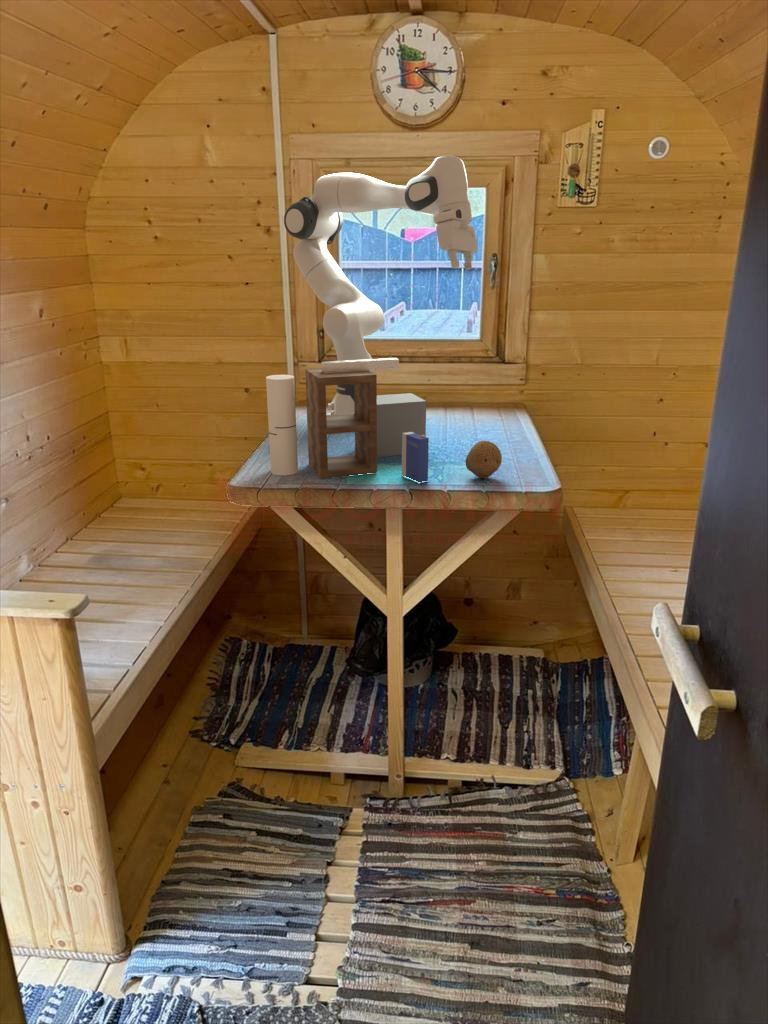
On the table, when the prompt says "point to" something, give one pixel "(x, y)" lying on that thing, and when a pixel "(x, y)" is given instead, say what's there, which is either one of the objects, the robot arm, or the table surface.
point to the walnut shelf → (342, 423)
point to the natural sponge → (484, 459)
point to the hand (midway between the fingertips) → (462, 268)
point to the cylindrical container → (282, 424)
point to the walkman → (415, 456)
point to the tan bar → (360, 365)
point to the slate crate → (398, 421)
